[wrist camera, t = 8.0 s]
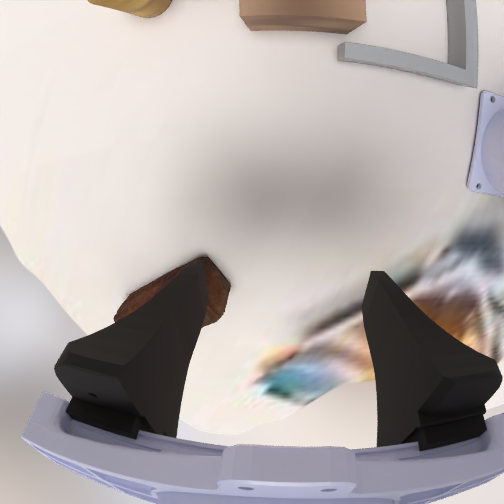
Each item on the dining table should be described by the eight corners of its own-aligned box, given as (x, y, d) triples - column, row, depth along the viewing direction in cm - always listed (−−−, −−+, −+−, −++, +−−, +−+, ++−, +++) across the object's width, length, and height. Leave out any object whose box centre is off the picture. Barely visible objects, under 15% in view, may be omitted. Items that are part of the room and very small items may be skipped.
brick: (204, 249, 25) (188, 285, 21) (232, 283, 26) (223, 322, 22) (125, 294, 29) (106, 326, 25) (152, 320, 30) (136, 354, 26)
